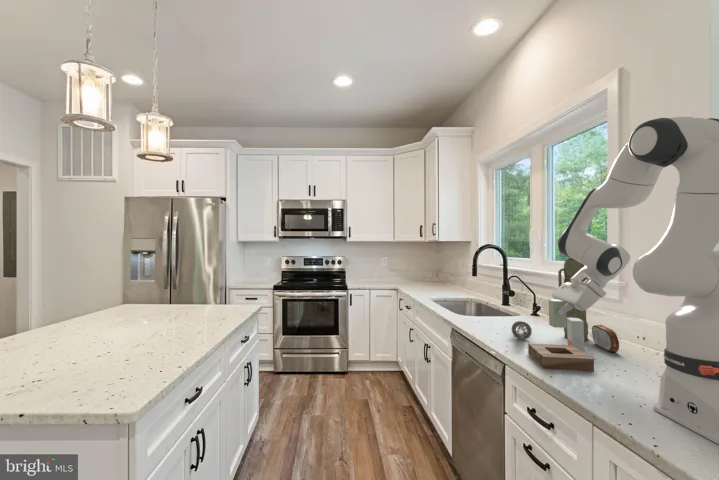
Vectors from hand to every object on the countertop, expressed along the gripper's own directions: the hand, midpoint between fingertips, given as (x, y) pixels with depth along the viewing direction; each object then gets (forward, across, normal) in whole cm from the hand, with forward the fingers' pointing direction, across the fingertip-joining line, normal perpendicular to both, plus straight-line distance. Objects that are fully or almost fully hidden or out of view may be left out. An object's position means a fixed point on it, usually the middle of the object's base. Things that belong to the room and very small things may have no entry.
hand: (555, 312), depth 113 cm
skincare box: (+4, -15, +21) cm, 26 cm away
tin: (-5, -19, +30) cm, 36 cm away
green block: (+3, 0, +4) cm, 5 cm away
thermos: (-2, -33, +27) cm, 43 cm away
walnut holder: (+12, 0, +13) cm, 17 cm away
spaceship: (+15, -28, +10) cm, 33 cm away
